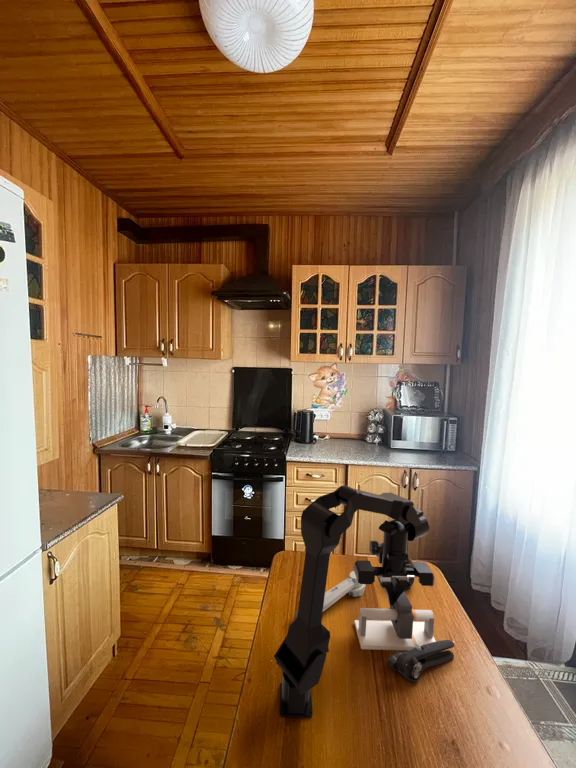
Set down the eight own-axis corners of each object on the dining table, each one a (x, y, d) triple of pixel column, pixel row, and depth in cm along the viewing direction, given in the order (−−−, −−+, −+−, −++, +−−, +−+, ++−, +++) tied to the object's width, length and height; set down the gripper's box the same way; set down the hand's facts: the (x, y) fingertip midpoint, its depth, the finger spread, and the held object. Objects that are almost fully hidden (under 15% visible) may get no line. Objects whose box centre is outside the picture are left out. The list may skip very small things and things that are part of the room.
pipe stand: (438, 651, 84) (441, 623, 83) (361, 649, 84) (363, 620, 83) (425, 625, 92) (427, 599, 91) (354, 623, 91) (356, 597, 91)
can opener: (404, 692, 73) (405, 668, 73) (383, 664, 80) (385, 642, 79) (465, 667, 80) (467, 645, 79) (441, 644, 86) (443, 623, 86)
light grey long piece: (293, 605, 92) (355, 562, 107) (294, 627, 93) (356, 581, 108) (306, 618, 88) (369, 570, 103) (307, 640, 89) (369, 590, 104)
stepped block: (411, 641, 84) (414, 610, 83) (399, 640, 83) (401, 609, 83) (400, 616, 92) (402, 587, 91) (389, 616, 91) (391, 587, 91)
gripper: (419, 530, 94) (415, 584, 95) (351, 528, 94) (348, 582, 95) (437, 553, 83) (432, 614, 84) (360, 551, 82) (356, 612, 84)
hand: (390, 604), depth 87 cm, fingers closed
